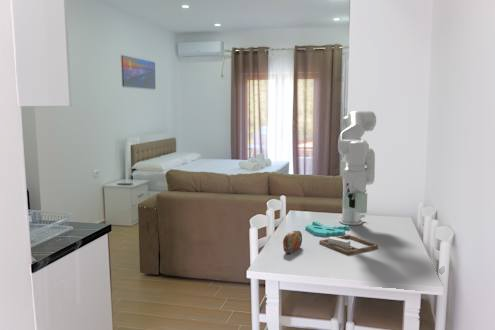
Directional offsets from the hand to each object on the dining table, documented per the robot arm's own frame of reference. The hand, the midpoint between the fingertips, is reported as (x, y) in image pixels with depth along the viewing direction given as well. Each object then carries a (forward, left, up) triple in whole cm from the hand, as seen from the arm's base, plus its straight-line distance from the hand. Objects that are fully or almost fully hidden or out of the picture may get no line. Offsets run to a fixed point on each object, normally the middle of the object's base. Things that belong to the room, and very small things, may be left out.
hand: (354, 206), depth 203 cm
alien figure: (-4, -24, -19) cm, 31 cm away
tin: (+30, -8, -19) cm, 36 cm away
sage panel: (0, 0, -2) cm, 2 cm away
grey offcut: (+9, 0, -17) cm, 19 cm away
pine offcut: (+9, 0, -19) cm, 21 cm away
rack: (+3, 0, -18) cm, 19 cm away
